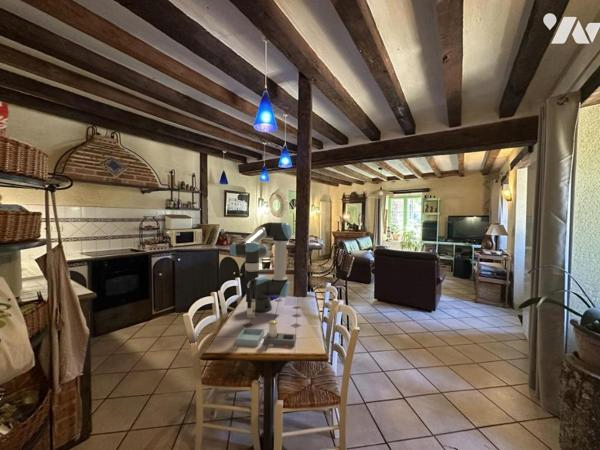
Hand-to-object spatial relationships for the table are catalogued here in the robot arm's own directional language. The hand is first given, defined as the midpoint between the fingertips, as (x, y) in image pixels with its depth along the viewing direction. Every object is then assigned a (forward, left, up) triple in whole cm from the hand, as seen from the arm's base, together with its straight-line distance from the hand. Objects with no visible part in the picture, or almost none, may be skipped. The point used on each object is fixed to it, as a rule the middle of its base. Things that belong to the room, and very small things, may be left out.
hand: (251, 311), depth 142 cm
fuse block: (+1, +17, -15) cm, 23 cm away
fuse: (+1, +13, -14) cm, 19 cm away
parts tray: (0, 0, -15) cm, 15 cm away
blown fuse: (0, 0, -3) cm, 3 cm away
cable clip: (-76, -1, -16) cm, 78 cm away
